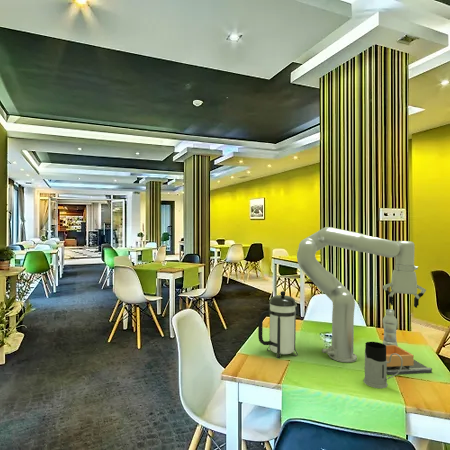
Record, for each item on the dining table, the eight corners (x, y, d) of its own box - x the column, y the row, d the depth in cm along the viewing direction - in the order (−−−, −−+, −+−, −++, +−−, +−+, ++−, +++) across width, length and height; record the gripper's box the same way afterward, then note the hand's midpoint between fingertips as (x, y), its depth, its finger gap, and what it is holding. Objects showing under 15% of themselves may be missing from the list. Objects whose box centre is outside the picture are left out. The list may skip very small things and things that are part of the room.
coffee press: (271, 345, 171) (272, 286, 171) (301, 351, 163) (302, 290, 163) (257, 356, 156) (258, 292, 156) (290, 364, 148) (291, 296, 148)
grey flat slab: (387, 374, 138) (387, 370, 138) (370, 362, 151) (370, 358, 151) (431, 372, 140) (431, 368, 140) (410, 360, 153) (410, 356, 153)
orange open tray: (386, 370, 138) (387, 356, 138) (370, 359, 150) (370, 345, 150) (413, 369, 140) (413, 355, 140) (395, 357, 152) (395, 345, 152)
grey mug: (369, 375, 137) (369, 339, 137) (406, 388, 126) (406, 349, 127) (359, 382, 131) (359, 344, 131) (397, 396, 121) (398, 355, 121)
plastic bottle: (399, 353, 162) (399, 312, 162) (384, 352, 163) (384, 311, 163) (395, 348, 168) (395, 308, 168) (380, 347, 169) (381, 308, 169)
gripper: (424, 268, 151) (423, 306, 152) (382, 266, 157) (381, 302, 157) (428, 270, 144) (427, 309, 144) (384, 268, 150) (383, 305, 150)
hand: (403, 305), depth 151 cm, fingers open, 9 cm apart
